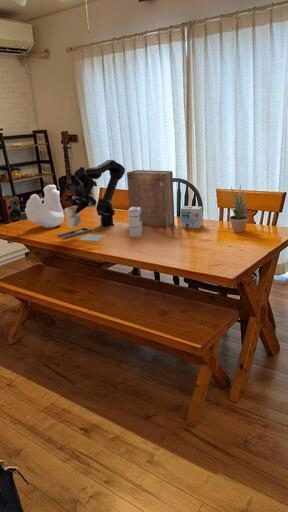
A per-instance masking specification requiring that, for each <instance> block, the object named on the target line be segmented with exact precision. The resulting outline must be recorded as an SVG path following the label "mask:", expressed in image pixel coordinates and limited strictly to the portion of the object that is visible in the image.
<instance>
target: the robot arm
mask: <svg viewBox="0 0 288 512" xmlns="http://www.w3.org/2000/svg"><path fill="white" fill-rule="evenodd" d="M107 171H108V172H109V176H110V178H109V181H108V183H107V186H106V188H105V191H104V194H103V198H98V200H97V199H95V198H94V197H93V196H92V194H93V193H92V191H93V188H94V187H98V185H97V184H98V183H97V181H96V180H98V179H100V178H101V176H102V174H104V173H105V172H107ZM125 173H126V168H125V167H124V165H122V164H121V163H119V162H117V161H116V160H113V159H107V160H105V161H103V163H100V164H99V165H96V166H94V167H88V168H87V169H85V167H83V166H81V167H79V168H78V169H77V170H75V172H74V173H73V175H74V178H76V179H77V181H79V183H80V184H79V185H78V186H77V185H76V186H75V185H70V189H69V193H67V194H66V195H65V199H66V201H68V202H69V203H71V206H78V207H77V209H76V212H75V213H76V214H77V213H79V212H80V213H81V212H82V211H83V210H84V209H85V208H87V207H90V206H96V208H95V209H96V212H97V215H98V216H100V218H99V220H100V226H102V227H103V228H104V227H105V228H106V227H112V226H115V224H114V219H113V217H114V216H115V214H116V211H115V210H114V208H113V203H112V200H113V197H114V194H115V191H116V188H117V186H118V182H119V181H120V180H121V179H122V178H123V176H124V175H125Z"/></svg>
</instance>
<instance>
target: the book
mask: <svg viewBox="0 0 288 512" xmlns="http://www.w3.org/2000/svg"><path fill="white" fill-rule="evenodd" d="M173 177H174V176H173V171H172V170H148V169H147V170H144V169H143V170H142V169H137V170H132V171H127V172H126V179H127V181H126V182H127V191H128V203H129V209H130V208H131V207H141V216H142V226H147V227H156V228H161V229H167V227H168V226H170V225H175V223H176V222H175V204H174V203H175V201H174V200H175V199H174V198H175V197H174V180H173V179H174V178H173Z"/></svg>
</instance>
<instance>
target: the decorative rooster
mask: <svg viewBox="0 0 288 512" xmlns="http://www.w3.org/2000/svg"><path fill="white" fill-rule="evenodd" d="M42 191H43V193H44V197H42V198H41V197H40V196H39V195H38V194H36V193H34V194H33V193H32V194H31V195H30V196H29V198H28V200H27V202H26V204H25V209H24V212H25V215H26V218H27V220H28V221H30V222H32V223H33V224H35V223H38V224H39V225H40V226H41V227H43V228H46V229H52V228H56V227H57V226H61V224H63V223H64V219H65V215H64V211H63V210H64V209H63V207H62V204H61V202H60V201H61V197H60V190H57V185H55V184H48V185H46V186H44V188H43V190H42ZM42 201H43V202H42Z"/></svg>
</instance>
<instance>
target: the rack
mask: <svg viewBox="0 0 288 512" xmlns="http://www.w3.org/2000/svg"><path fill="white" fill-rule="evenodd" d="M79 230H83V231H82V232H78V233H75V231H79ZM91 232H92V233H93V228H88V227H81V228H77V229H75V230H74V229H73V230H70V231H65V232H63V233H62V232H61V233H59V234H57V237H58V238H61V237H63V239H64V240H67V239H70V238H73V237H78V236H80V235H81V236H82V235H84V234H89V233H91Z"/></svg>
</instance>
